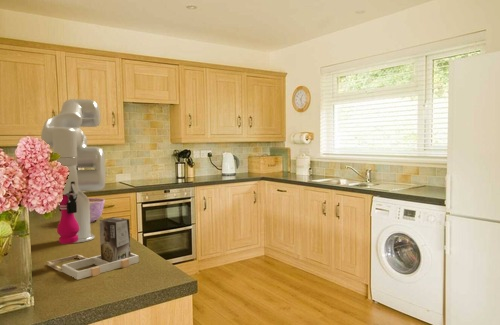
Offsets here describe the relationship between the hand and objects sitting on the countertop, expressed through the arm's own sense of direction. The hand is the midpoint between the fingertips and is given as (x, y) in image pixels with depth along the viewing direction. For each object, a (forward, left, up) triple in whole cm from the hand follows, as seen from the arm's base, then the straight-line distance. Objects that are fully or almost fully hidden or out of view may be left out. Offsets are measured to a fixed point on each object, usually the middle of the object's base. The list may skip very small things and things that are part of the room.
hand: (68, 211), depth 136 cm
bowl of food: (-67, +38, -20) cm, 79 cm away
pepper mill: (0, 0, -11) cm, 11 cm away
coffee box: (+13, +11, -20) cm, 26 cm away
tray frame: (+1, 0, -19) cm, 19 cm away
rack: (+13, +6, -19) cm, 24 cm away
